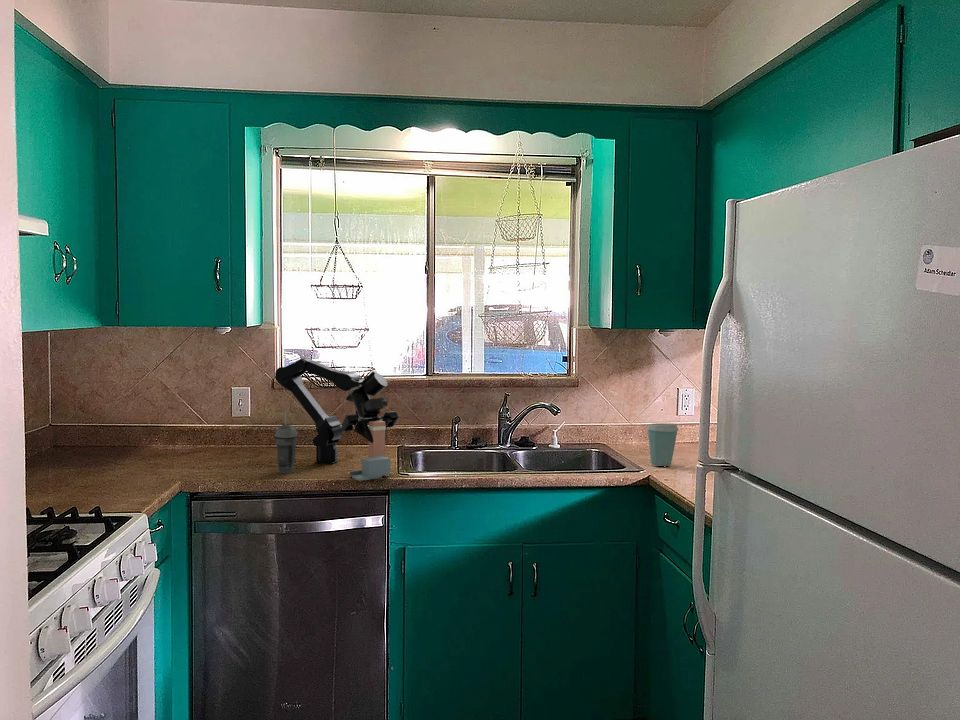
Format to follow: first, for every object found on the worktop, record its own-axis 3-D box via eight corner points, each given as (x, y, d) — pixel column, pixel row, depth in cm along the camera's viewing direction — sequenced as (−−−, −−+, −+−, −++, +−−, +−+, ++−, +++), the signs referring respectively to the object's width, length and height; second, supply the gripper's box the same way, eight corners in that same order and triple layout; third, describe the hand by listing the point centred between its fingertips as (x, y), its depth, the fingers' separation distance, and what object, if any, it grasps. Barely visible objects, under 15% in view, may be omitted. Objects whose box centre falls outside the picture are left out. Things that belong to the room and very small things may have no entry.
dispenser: (350, 477, 246) (350, 458, 245) (380, 473, 252) (380, 455, 252) (359, 481, 240) (359, 461, 240) (390, 477, 247) (390, 458, 246)
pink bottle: (368, 460, 255) (368, 421, 254) (380, 459, 257) (381, 420, 256) (373, 462, 252) (373, 422, 251) (385, 460, 255) (385, 421, 254)
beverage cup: (277, 475, 248) (277, 412, 246) (272, 470, 254) (272, 410, 253) (300, 473, 251) (300, 411, 250) (294, 468, 257) (294, 409, 256)
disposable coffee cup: (639, 465, 270) (641, 422, 269) (655, 461, 278) (657, 419, 277) (667, 470, 263) (668, 426, 262) (682, 465, 271) (684, 423, 270)
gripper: (345, 390, 251) (361, 428, 243) (396, 387, 262) (412, 424, 254) (335, 411, 258) (350, 449, 250) (384, 408, 269) (400, 444, 261)
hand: (379, 441), depth 253 cm, fingers closed on pink bottle, 4 cm apart
